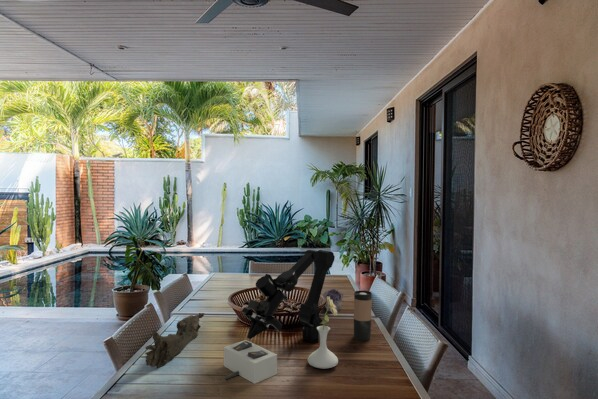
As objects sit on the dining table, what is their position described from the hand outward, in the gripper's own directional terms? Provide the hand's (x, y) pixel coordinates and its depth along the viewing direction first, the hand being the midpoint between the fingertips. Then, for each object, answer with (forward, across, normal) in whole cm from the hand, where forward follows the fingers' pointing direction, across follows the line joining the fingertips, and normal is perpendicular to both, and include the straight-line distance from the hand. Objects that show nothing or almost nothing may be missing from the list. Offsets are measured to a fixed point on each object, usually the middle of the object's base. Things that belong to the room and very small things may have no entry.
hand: (248, 338), depth 147 cm
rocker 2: (+4, +9, 0) cm, 10 cm away
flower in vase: (-8, +19, +21) cm, 30 cm away
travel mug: (-30, +14, +43) cm, 55 cm away
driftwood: (+15, -30, -1) cm, 33 cm away
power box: (+10, +5, +3) cm, 12 cm away
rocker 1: (+4, 0, 0) cm, 4 cm away
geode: (-48, -24, +61) cm, 81 cm away
